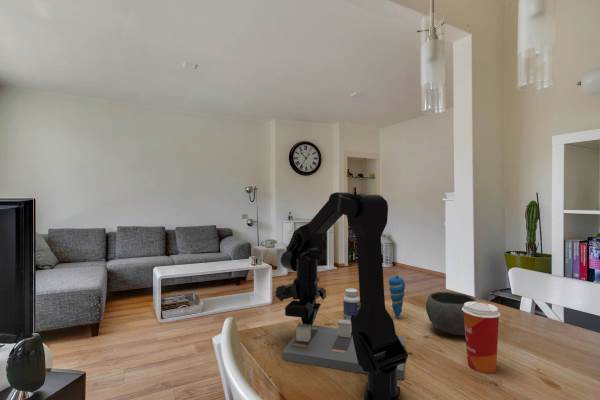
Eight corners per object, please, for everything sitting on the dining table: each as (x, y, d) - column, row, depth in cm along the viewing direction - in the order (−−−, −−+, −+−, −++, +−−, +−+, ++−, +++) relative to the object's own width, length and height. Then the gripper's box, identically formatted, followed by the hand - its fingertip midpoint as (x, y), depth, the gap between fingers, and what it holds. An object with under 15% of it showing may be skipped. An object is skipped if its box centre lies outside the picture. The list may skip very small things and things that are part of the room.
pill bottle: (360, 323, 97) (359, 292, 97) (343, 322, 98) (342, 292, 98) (360, 317, 102) (360, 288, 102) (344, 316, 103) (343, 287, 104)
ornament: (387, 319, 100) (387, 273, 101) (390, 314, 105) (390, 270, 105) (404, 322, 98) (403, 275, 98) (406, 317, 103) (406, 271, 103)
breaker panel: (403, 380, 66) (403, 370, 66) (282, 359, 75) (282, 351, 75) (403, 343, 83) (403, 335, 83) (304, 331, 92) (304, 323, 92)
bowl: (490, 345, 82) (489, 307, 82) (429, 339, 86) (429, 303, 86) (474, 324, 96) (474, 292, 96) (423, 320, 100) (423, 289, 100)
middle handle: (350, 337, 82) (350, 324, 82) (338, 336, 83) (338, 322, 83) (352, 334, 84) (352, 320, 84) (340, 332, 85) (340, 319, 85)
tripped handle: (308, 342, 79) (308, 328, 79) (296, 340, 80) (296, 326, 80) (311, 338, 82) (310, 324, 82) (299, 336, 83) (299, 323, 83)
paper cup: (466, 355, 76) (465, 298, 76) (503, 365, 71) (502, 305, 72) (459, 368, 70) (458, 307, 70) (499, 380, 65) (497, 314, 66)
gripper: (291, 266, 96) (291, 317, 95) (265, 280, 78) (266, 342, 78) (326, 268, 92) (326, 321, 92) (307, 283, 74) (308, 349, 74)
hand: (307, 332), depth 84 cm, fingers closed
